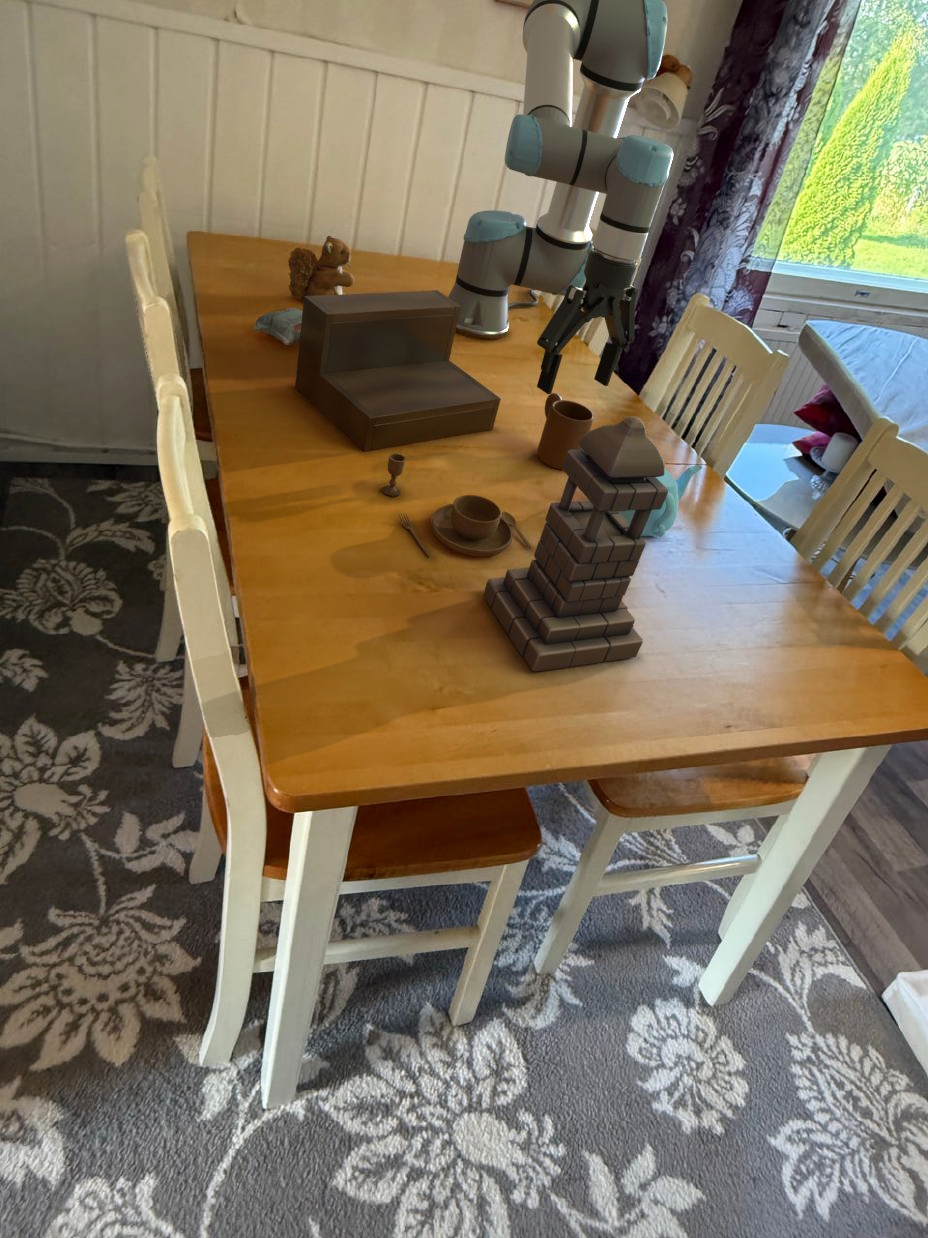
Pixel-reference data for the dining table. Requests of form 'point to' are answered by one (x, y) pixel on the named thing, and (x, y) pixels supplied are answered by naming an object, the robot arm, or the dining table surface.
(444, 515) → the place setting
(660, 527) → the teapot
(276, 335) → the packaged food
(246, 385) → the dining table surface
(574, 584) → the miniature tower
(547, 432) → the mug
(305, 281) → the stuffed squirrel
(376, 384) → the stepped stand
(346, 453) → the dining table surface
